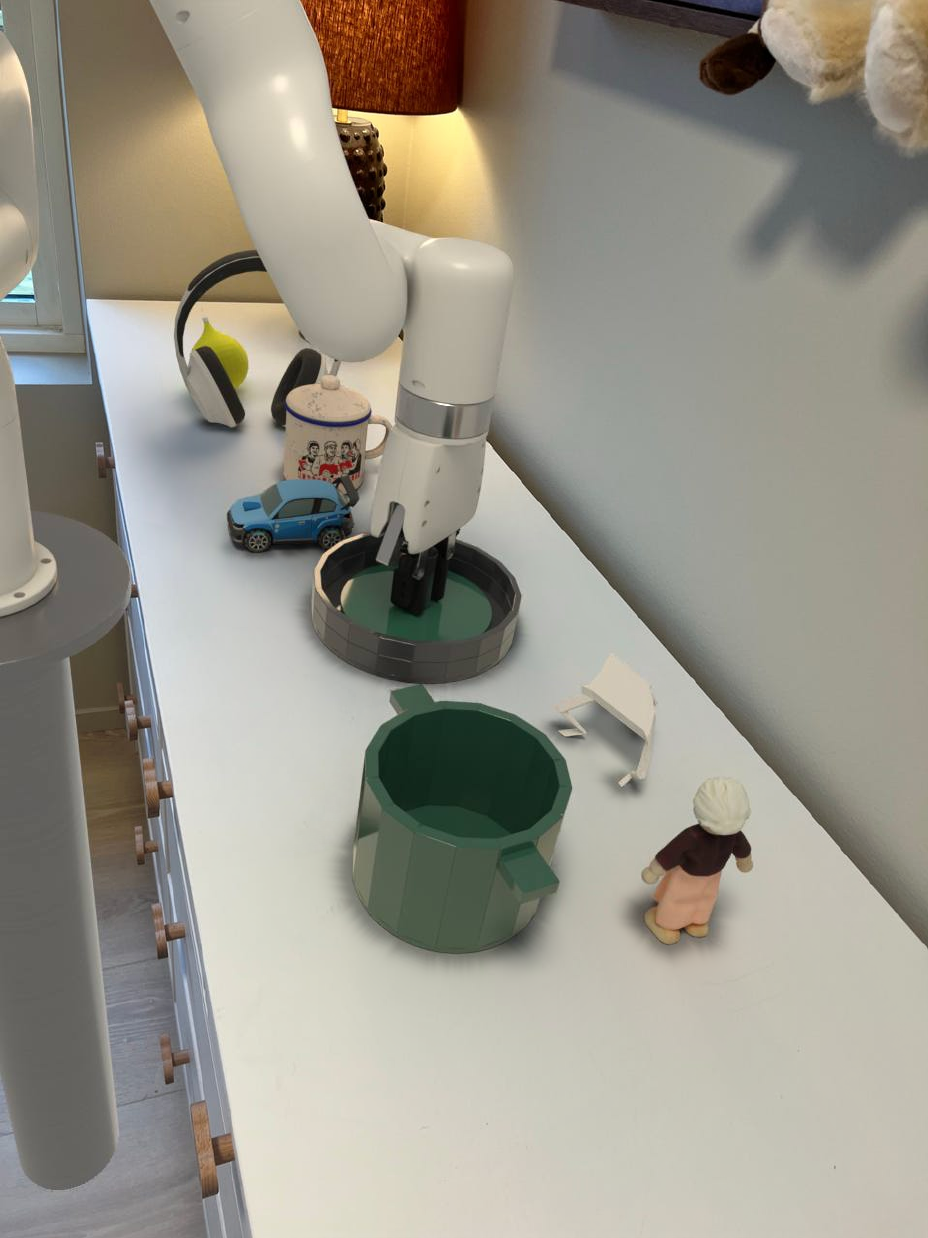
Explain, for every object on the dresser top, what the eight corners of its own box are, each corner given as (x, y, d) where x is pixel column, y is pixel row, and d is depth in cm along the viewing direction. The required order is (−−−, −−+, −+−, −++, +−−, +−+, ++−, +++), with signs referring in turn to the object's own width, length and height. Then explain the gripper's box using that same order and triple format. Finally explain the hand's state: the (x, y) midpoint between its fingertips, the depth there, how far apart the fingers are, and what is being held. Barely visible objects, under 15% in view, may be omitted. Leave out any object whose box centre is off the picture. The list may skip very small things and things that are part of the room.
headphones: (180, 439, 110) (176, 258, 98) (171, 408, 116) (167, 234, 105) (345, 437, 117) (360, 267, 105) (329, 408, 123) (341, 245, 112)
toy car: (224, 524, 96) (225, 472, 93) (343, 520, 100) (347, 470, 97) (232, 555, 92) (233, 502, 89) (356, 549, 96) (361, 499, 93)
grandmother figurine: (696, 885, 67) (754, 749, 60) (733, 928, 64) (798, 791, 57) (606, 919, 63) (657, 779, 56) (641, 967, 61) (699, 826, 53)
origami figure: (529, 705, 80) (540, 658, 77) (614, 690, 84) (628, 644, 81) (602, 809, 71) (618, 760, 69) (694, 787, 75) (713, 740, 72)
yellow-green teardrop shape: (186, 379, 124) (185, 300, 118) (242, 379, 126) (244, 302, 121) (193, 402, 118) (192, 321, 113) (252, 402, 121) (254, 322, 115)
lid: (375, 672, 80) (383, 606, 76) (317, 583, 89) (321, 520, 85) (517, 644, 86) (531, 581, 82) (449, 563, 95) (458, 504, 91)
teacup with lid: (291, 500, 102) (296, 395, 96) (273, 460, 109) (277, 360, 102) (399, 495, 107) (412, 395, 100) (376, 457, 113) (386, 361, 107)
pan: (358, 702, 77) (362, 662, 75) (283, 579, 90) (285, 542, 88) (550, 661, 86) (559, 625, 83) (457, 554, 98) (462, 520, 96)
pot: (419, 1019, 55) (441, 912, 50) (310, 801, 68) (319, 696, 63) (599, 951, 61) (637, 848, 56) (468, 761, 74) (489, 662, 68)
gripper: (459, 369, 83) (432, 552, 94) (341, 419, 72) (326, 622, 82) (534, 397, 81) (498, 582, 91) (425, 454, 69) (397, 659, 79)
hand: (417, 599), depth 86 cm, fingers closed on lid, 2 cm apart
